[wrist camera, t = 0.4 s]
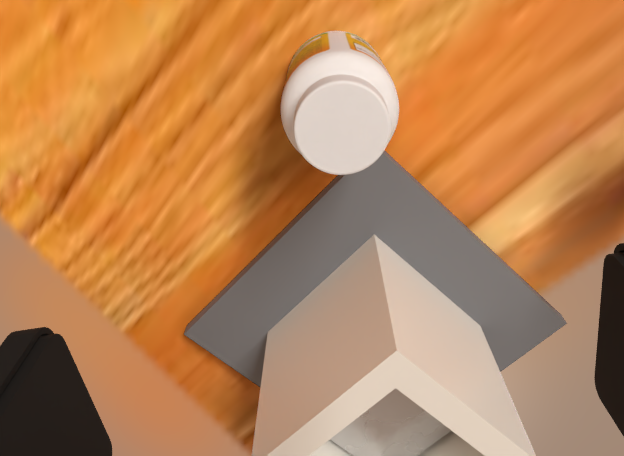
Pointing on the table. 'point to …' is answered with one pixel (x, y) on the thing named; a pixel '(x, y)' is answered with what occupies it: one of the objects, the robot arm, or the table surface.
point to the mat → (349, 238)
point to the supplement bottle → (339, 103)
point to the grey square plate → (391, 429)
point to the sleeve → (381, 364)
